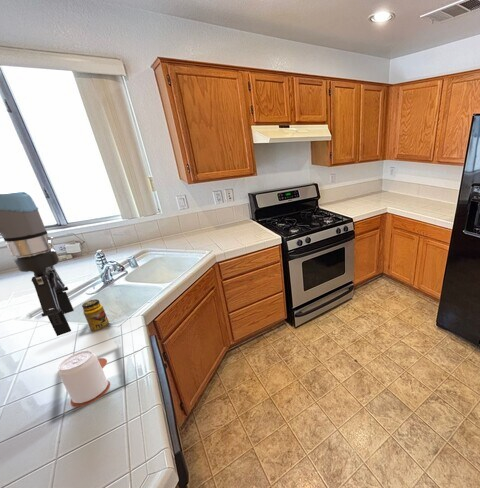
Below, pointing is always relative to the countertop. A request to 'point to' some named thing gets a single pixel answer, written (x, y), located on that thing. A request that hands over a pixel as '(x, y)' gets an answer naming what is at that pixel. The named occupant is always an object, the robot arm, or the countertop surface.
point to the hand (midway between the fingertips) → (66, 322)
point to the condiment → (95, 315)
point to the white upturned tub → (82, 376)
